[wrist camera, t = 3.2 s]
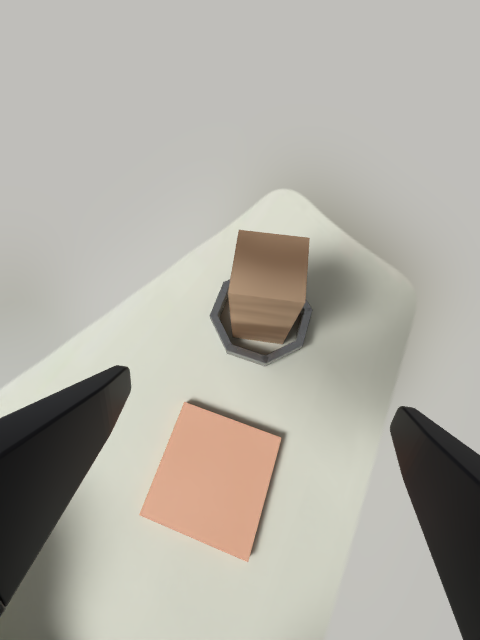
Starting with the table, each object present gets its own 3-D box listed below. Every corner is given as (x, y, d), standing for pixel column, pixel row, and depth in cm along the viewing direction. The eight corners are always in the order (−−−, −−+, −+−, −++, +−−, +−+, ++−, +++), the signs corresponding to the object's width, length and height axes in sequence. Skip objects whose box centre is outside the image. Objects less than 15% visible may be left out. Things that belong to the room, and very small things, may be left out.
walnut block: (282, 344, 24) (305, 302, 15) (232, 337, 24) (227, 292, 15) (286, 298, 25) (309, 237, 17) (239, 292, 25) (238, 229, 17)
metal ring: (292, 376, 23) (295, 373, 21) (201, 344, 24) (198, 341, 22) (315, 291, 25) (319, 285, 24) (232, 266, 26) (232, 259, 25)
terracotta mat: (247, 557, 18) (247, 561, 18) (142, 512, 19) (139, 515, 19) (280, 437, 21) (281, 437, 20) (185, 402, 22) (184, 401, 21)
